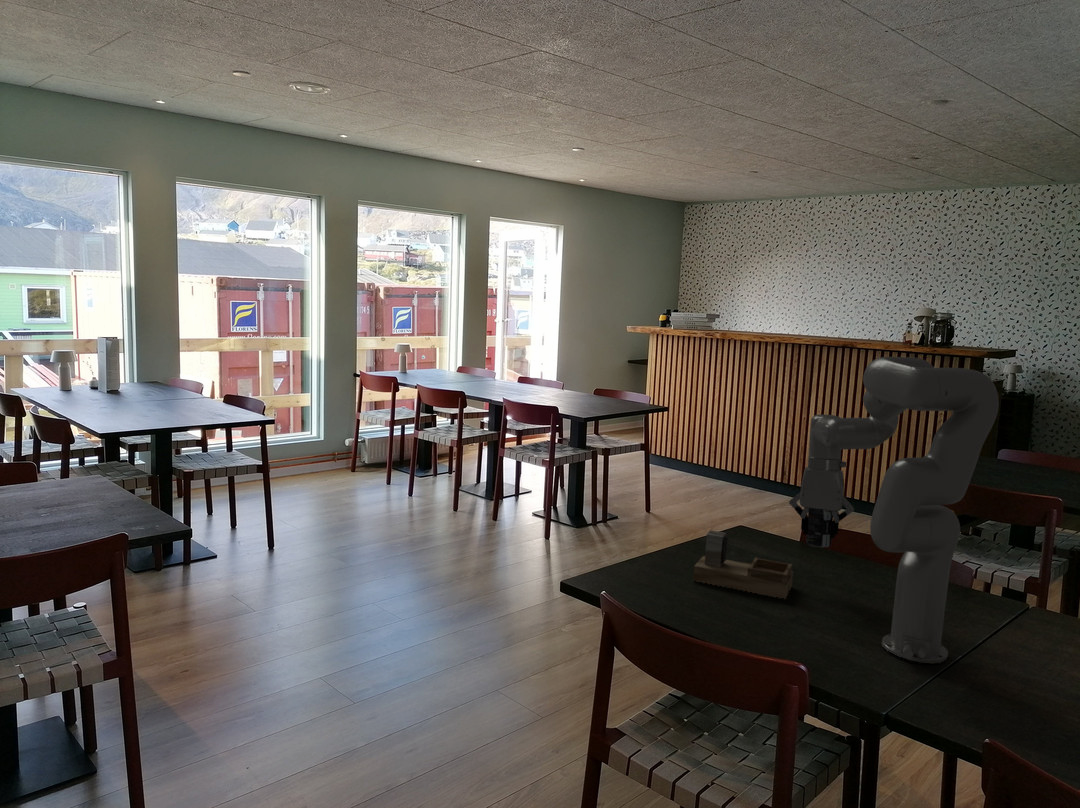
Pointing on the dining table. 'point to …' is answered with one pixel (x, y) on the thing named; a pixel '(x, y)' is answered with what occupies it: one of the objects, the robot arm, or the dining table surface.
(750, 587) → the wooden holder
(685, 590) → the dining table surface
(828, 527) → the pill bottle
